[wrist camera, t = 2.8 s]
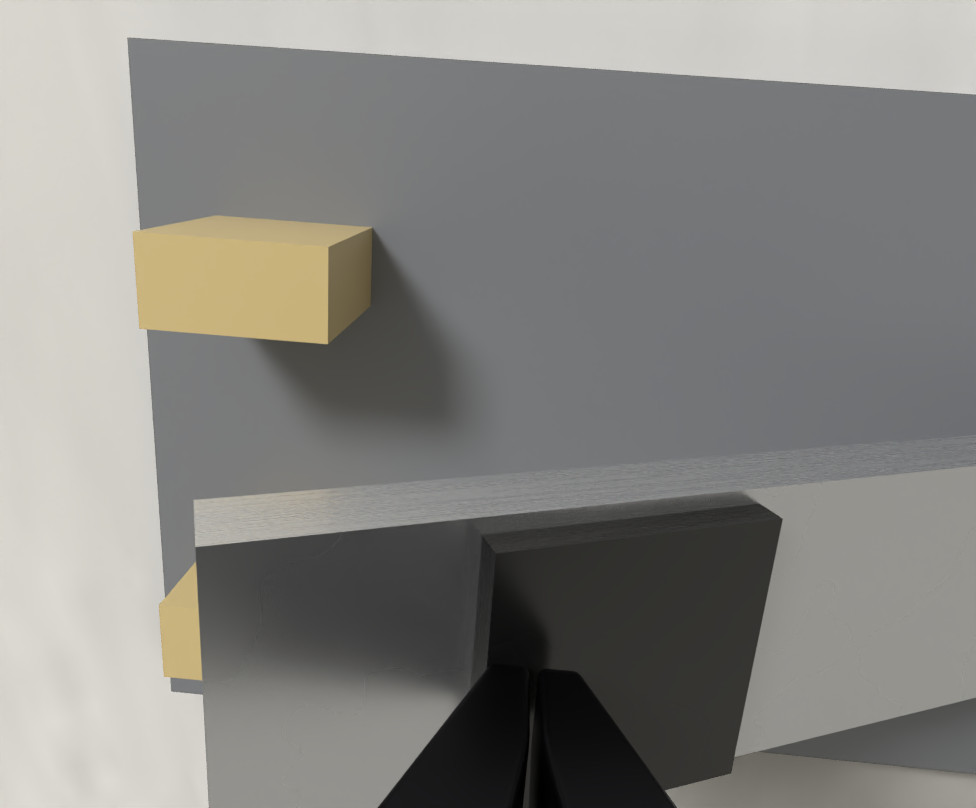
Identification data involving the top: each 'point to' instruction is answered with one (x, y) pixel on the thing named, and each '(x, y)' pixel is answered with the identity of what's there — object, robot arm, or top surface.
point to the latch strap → (584, 609)
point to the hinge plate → (538, 284)
